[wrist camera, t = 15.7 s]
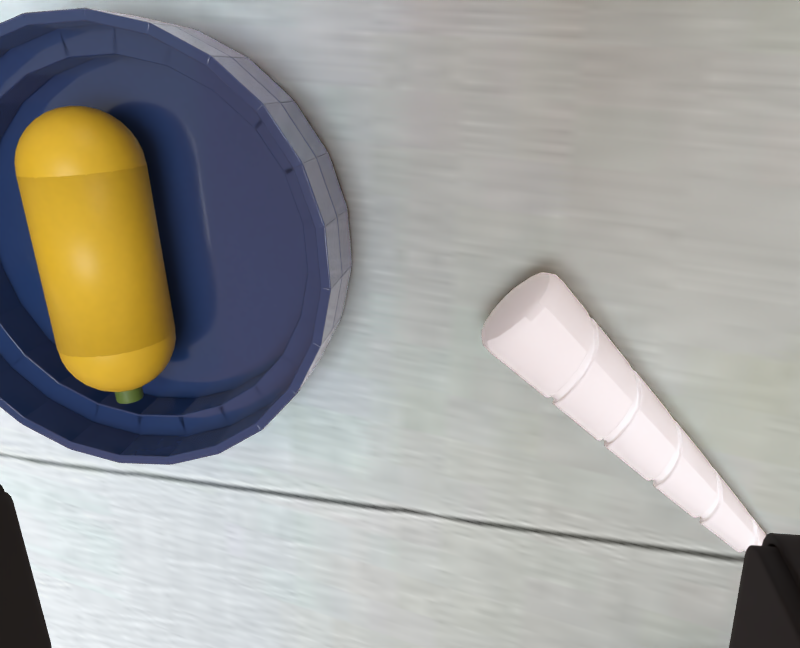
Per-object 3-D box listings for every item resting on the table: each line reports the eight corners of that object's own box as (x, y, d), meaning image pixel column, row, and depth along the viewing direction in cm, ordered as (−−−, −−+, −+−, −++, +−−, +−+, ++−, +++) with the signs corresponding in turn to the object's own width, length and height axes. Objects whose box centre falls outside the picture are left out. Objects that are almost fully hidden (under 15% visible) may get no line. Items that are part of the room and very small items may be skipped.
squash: (85, 104, 36) (-27, 111, 31) (161, 99, 33) (51, 107, 29) (137, 370, 41) (48, 411, 36) (208, 387, 38) (121, 433, 34)
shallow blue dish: (-79, 34, 36) (-168, 28, 31) (333, 2, 32) (303, -11, 28) (21, 416, 43) (-39, 457, 38) (367, 424, 39) (347, 471, 35)
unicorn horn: (739, 618, 40) (768, 686, 35) (475, 312, 36) (469, 345, 32) (817, 579, 38) (856, 645, 34) (548, 256, 35) (553, 283, 30)
